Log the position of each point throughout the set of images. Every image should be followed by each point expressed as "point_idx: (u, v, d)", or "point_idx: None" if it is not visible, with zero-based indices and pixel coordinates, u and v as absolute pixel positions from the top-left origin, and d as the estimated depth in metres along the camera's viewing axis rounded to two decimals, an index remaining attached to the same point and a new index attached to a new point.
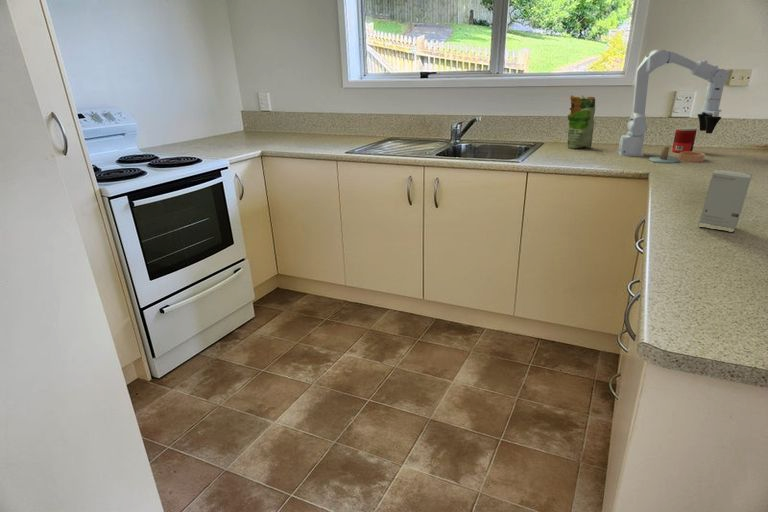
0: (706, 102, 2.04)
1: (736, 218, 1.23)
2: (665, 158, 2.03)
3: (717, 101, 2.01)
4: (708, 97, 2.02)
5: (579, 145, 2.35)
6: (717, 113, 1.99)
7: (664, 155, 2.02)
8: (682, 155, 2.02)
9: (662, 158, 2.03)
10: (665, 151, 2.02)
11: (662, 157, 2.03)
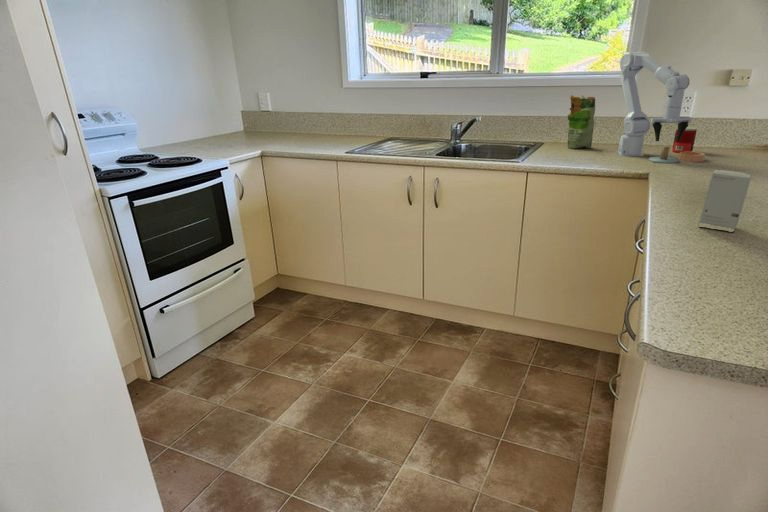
0: None
1: (736, 218, 1.23)
2: (665, 158, 2.03)
3: (666, 109, 1.96)
4: None
5: (579, 145, 2.35)
6: (651, 120, 1.99)
7: (664, 155, 2.02)
8: (682, 155, 2.02)
9: (662, 158, 2.03)
10: (665, 151, 2.02)
11: (662, 157, 2.03)
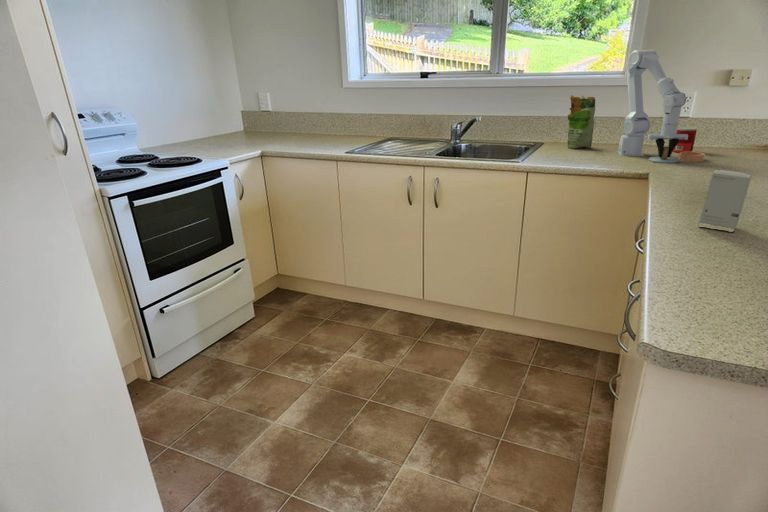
0: None
1: (736, 218, 1.23)
2: (665, 158, 2.03)
3: (663, 126, 1.98)
4: None
5: (579, 145, 2.35)
6: (649, 136, 2.02)
7: (664, 155, 2.02)
8: (682, 155, 2.02)
9: (662, 158, 2.03)
10: (665, 151, 2.02)
11: (662, 157, 2.03)
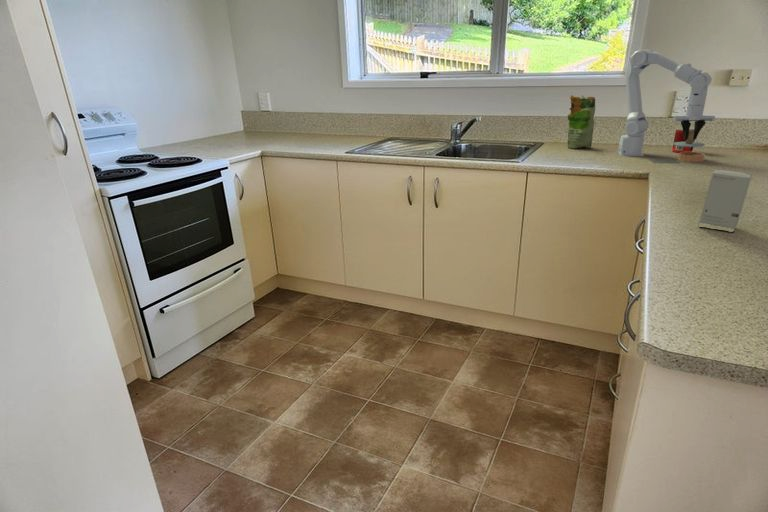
0: None
1: (736, 218, 1.23)
2: (690, 142, 1.99)
3: (689, 107, 1.95)
4: (689, 103, 1.96)
5: (579, 145, 2.35)
6: (674, 118, 1.98)
7: (689, 139, 1.99)
8: (682, 155, 2.02)
9: (687, 142, 2.00)
10: (690, 135, 1.99)
11: (687, 141, 2.00)
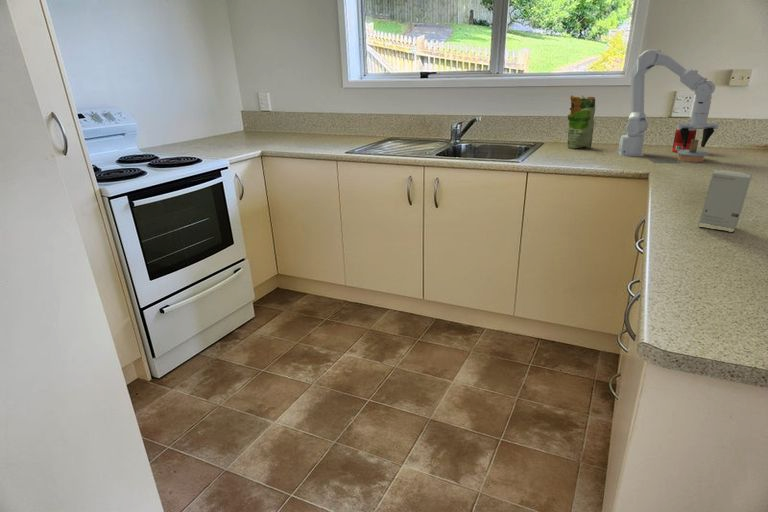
0: None
1: (736, 218, 1.23)
2: (694, 151, 2.01)
3: (693, 115, 1.96)
4: (693, 111, 1.96)
5: (579, 145, 2.35)
6: (678, 126, 2.00)
7: (693, 148, 2.01)
8: (682, 155, 2.02)
9: (691, 151, 2.01)
10: (694, 144, 2.00)
11: (691, 150, 2.01)
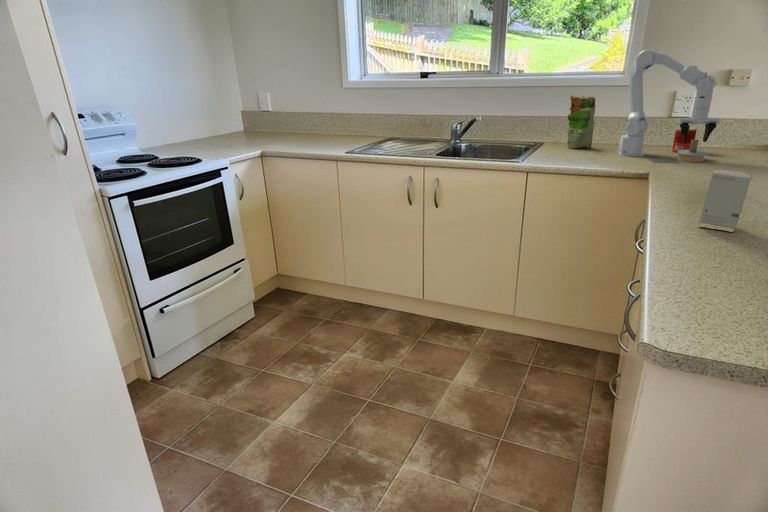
0: None
1: (736, 218, 1.23)
2: (694, 151, 2.01)
3: (694, 109, 1.95)
4: (694, 105, 1.96)
5: (579, 145, 2.35)
6: (679, 120, 1.99)
7: (693, 148, 2.01)
8: (682, 155, 2.02)
9: (691, 151, 2.01)
10: (694, 144, 2.00)
11: (691, 150, 2.01)
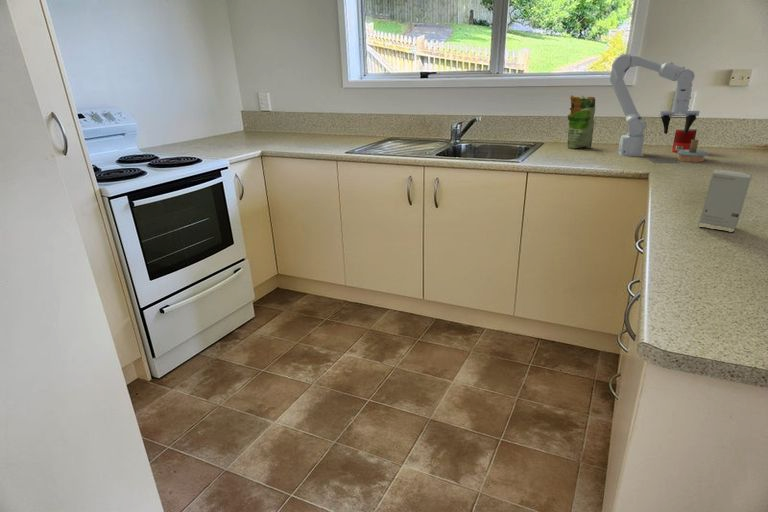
0: None
1: (736, 218, 1.23)
2: (694, 151, 2.01)
3: (675, 102, 2.02)
4: (675, 98, 2.02)
5: (579, 145, 2.35)
6: (660, 113, 2.05)
7: (693, 148, 2.01)
8: (682, 155, 2.02)
9: (691, 151, 2.01)
10: (694, 144, 2.00)
11: (691, 150, 2.01)
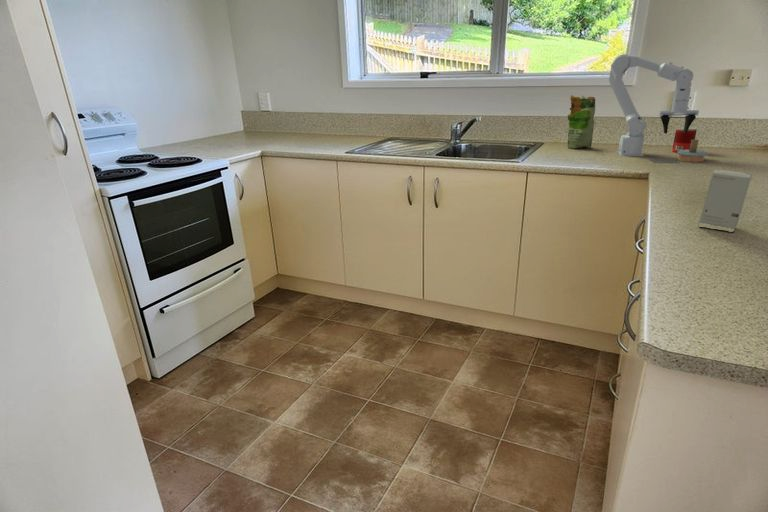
0: None
1: (736, 218, 1.23)
2: (694, 151, 2.01)
3: (674, 102, 2.02)
4: (674, 98, 2.02)
5: (579, 145, 2.35)
6: (660, 113, 2.05)
7: (693, 148, 2.01)
8: (682, 155, 2.02)
9: (691, 151, 2.01)
10: (694, 144, 2.00)
11: (691, 150, 2.01)
